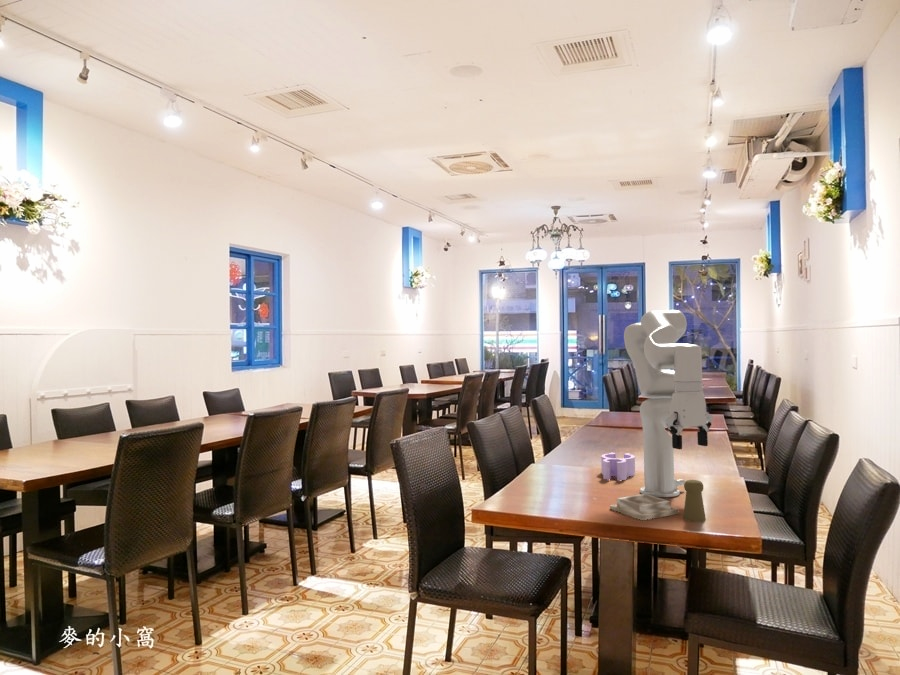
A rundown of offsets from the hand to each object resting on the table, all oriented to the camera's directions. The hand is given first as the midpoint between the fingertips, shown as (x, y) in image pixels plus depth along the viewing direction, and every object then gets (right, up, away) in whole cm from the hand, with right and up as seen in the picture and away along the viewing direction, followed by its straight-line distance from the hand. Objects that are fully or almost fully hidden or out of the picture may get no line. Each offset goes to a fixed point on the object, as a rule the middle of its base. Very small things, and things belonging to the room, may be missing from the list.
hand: (690, 447), depth 183 cm
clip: (-5, -21, +59) cm, 63 cm away
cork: (+1, -21, 0) cm, 21 cm away
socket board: (-11, -21, +9) cm, 25 cm away
